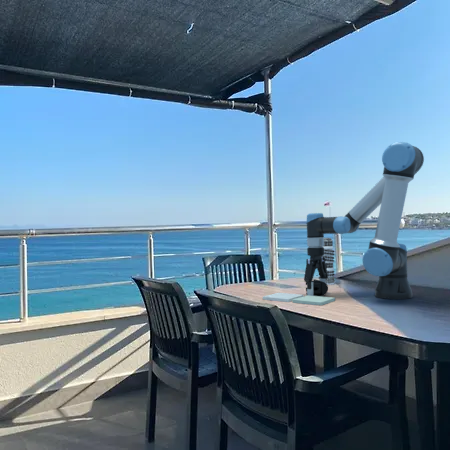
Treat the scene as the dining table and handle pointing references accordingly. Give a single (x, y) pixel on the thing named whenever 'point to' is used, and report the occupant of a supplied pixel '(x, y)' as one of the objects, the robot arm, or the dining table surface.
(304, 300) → the sage mat
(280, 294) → the pale blue mat
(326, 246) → the decorative candle
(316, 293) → the end cap
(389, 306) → the dining table surface
